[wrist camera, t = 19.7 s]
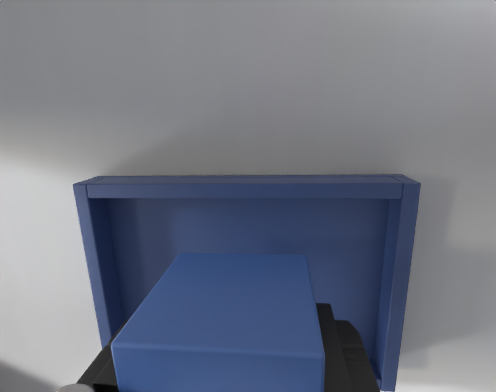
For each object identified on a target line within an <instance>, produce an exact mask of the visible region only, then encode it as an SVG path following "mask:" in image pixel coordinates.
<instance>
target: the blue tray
mask: <svg viewBox="0 0 496 392" xmlns="http://www.w3.org/2000/svg"><path fill="white" fill-rule="evenodd" d="M420 187H421V183H419V182H417V181H415V180H412V179H410V178H408V177H406V176H404V175H402V174H391V175H226V176H97V177H94V178H91V179H88V180H85V181H82V182H78V183H75V184H73V189H74V195H75V200H76V206H77V211H78V217H79V222H80V228H81V233H82V239H83V245H84V250H85V256H86V261H87V267H88V272H89V278H90V283H91V289H92V294H93V300H94V306H95V311H96V317H97V322H98V328H99V333H100V339H101V344H102V349H103V348H104V347H105V346H106V345H108V342H109V340H110V339H111V338H112V337H113V335H115V333H116V331H117V330H118V329H119V328H120V326H121V325H122V324H123V323H124V321H125V320H127V319H128V318H130V317H131V316H132V315H133V314H134V313H135V311H136V310H137V309H138V307H139V306H140V305H141V303H142V302H143V301H144V299H145V298H146V297H147V296H148V294H149V293H150V292H151V290H152V289H153V288H154V286H155V285H156V284H157V282H158V281H159V280H160V279H161V277H162V276H163V275H164V273H165V272H166V271H167V269H168V268H169V267H170V266H171V264H172V263H173V262H174V260H175V259H176V258H177V256H178V255H179V254H180V253H225V254H286V255H306V256H307V258H308V263H309V269H310V274H311V280H312V286H313V291H314V297H315V302H316V303H330V304H331V307H332V311H333V315H334V319H335V320H348V321H349V322H350V323H351V324H352V325H353V326H354V327H355V328H356V329H357V331H358V332H359V333H360V336H361V339H362V342H363V345H364V349H365V350H366V353H367V356H368V360H369V361H370V364H371V367H372V370H373V372H374V375H375V378H376V381H377V384H378V386H379V389H381V391H391V392H394V391H395V386H396V378H397V370H398V362H399V354H400V346H401V338H402V330H403V322H404V314H405V306H406V298H407V290H408V282H409V274H410V266H411V258H412V250H413V242H414V234H415V226H416V219H417V211H418V203H419V195H420Z"/></svg>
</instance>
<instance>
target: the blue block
mask: <svg viewBox="0 0 496 392" xmlns="http://www.w3.org/2000/svg"><path fill="white" fill-rule="evenodd" d="M111 351H112V357H113V362H114V368H115V373H116V379H117V384H118V390H119V392H324V376H325V353H324V347H323V342H322V336H321V330H320V325H319V319H318V314H317V308H316V302H315V297H314V291H313V286H312V280H311V274H310V269H309V263H308V258H307V256H306V255H286V254H225V253H180V254H179V255H178V256H177V258H176V259H175V260H174V262H173V263H172V264H171V266H170V267H169V268H168V269H167V271H166V272H165V273H164V275H163V276H162V277H161V279H160V280H159V281H158V282H157V284H156V285H155V286H154V288H153V289H152V290H151V292H150V293H149V294H148V296H147V297H146V298H145V299H144V301H143V302H142V303H141V305H140V306H139V307H138V309H137V310H136V311H135V313H134V314H133V315H132V316H131V318H130V319H129V320H128V322H127V323H126V324H125V326H124V327H123V328H122V330H121V331H120V332H119V333H118V335H117V336H116V337H115V339H114V340H113V341H112V344H111Z"/></svg>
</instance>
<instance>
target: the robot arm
mask: <svg viewBox="0 0 496 392" xmlns="http://www.w3.org/2000/svg"><path fill="white" fill-rule="evenodd" d="M316 308H317V314H318V319H319V325H320V330H321V336H322V342H323V347H324V353H325V376H324V392H380V389H379V386H378V384H377V381H376V378H375V375H374V372H373V370H372V367H371V364H370V361H369V360H368V356H367V353H366V350H365V349H364V345H363V342H362V339H361V336H360V333H359V332H358V331H357V329H356V328H355V327H354V326H353V325H352V324H351V323H350V322H349V321H348V320H335V319H334V315H333V311H332V307H331V304H330V303H316ZM130 318H131V317H130ZM130 318H128V319H127V320H125V321H124V323H123V324H122V325H121V326H120V328H119V329H118V330H117V331H116V333H115V335H113V337H112V338H111V339H110V340H109V342H108V345H106V346H105V347H104V348H103V349H102V351H101V352H100V353H99V355H98V356H97V357H96V358H95V360H94V361H93V362H92V364H91V365H90V366H89V367H88V369H87V370H86V371H85V372H84V374H83V375H82V376H81V378H80V379H79V380H78V381H77V383H76V384H71V385H67V386H65V387H62V388H60V389H58V390H56V391H54V392H119V390H118V384H117V379H116V373H115V368H114V362H113V357H112V351H111V344H112V341H113V340H114V339H115V337H116V336H117V335H118V333H119V332H120V331H121V330H122V328H123V327H124V326H125V324H126V323H127V322H128V320H129V319H130Z"/></svg>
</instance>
